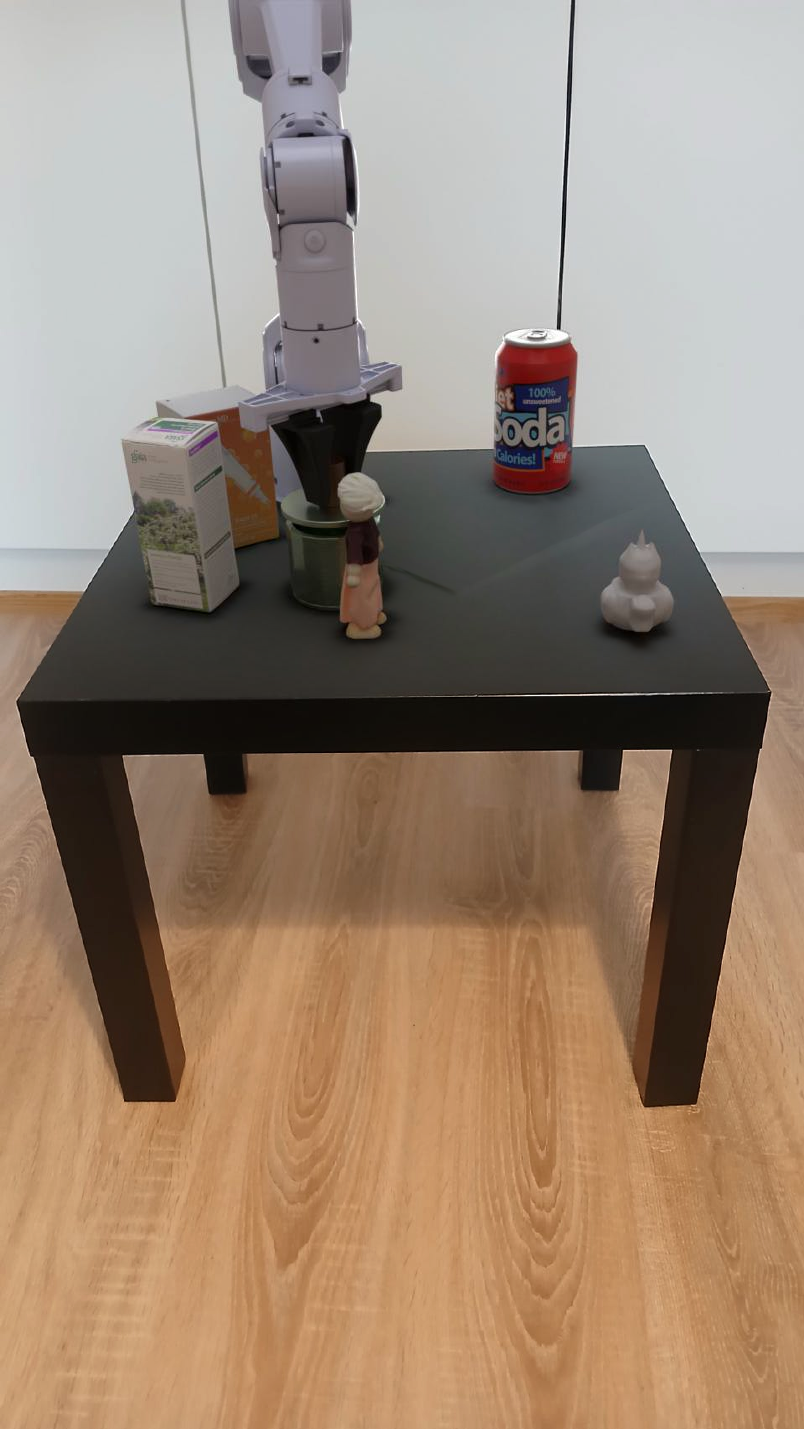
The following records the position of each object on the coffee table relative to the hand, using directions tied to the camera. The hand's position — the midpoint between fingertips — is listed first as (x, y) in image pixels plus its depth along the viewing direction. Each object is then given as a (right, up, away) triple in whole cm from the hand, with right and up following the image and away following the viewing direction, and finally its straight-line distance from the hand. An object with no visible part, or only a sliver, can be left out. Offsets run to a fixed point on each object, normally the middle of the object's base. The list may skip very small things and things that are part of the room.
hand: (331, 497), depth 85 cm
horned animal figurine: (+24, -11, -3) cm, 26 cm away
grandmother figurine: (+3, -11, -1) cm, 11 cm away
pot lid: (0, -1, 0) cm, 1 cm away
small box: (-11, -1, +15) cm, 18 cm away
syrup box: (-12, -8, +5) cm, 15 cm away
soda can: (+19, +6, +23) cm, 30 cm away
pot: (0, -7, +5) cm, 8 cm away
